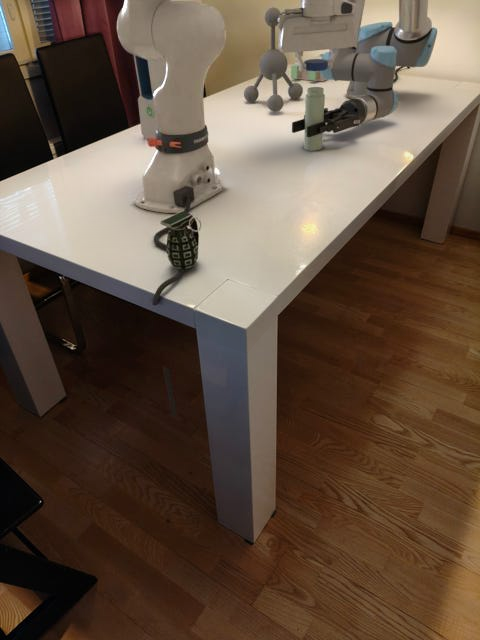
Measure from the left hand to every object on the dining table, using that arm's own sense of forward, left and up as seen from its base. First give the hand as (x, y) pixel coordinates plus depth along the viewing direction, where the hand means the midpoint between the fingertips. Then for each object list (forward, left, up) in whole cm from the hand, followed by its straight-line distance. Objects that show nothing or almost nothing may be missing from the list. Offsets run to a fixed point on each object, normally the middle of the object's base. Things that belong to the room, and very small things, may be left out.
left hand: (315, 69), depth 127 cm
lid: (0, 0, +2) cm, 2 cm away
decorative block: (+88, +28, -20) cm, 95 cm away
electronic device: (-6, +47, -20) cm, 52 cm away
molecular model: (+41, +27, -20) cm, 54 cm away
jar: (0, 0, -20) cm, 20 cm away
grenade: (-69, +1, -20) cm, 72 cm away
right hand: (-4, +2, -14) cm, 15 cm away
